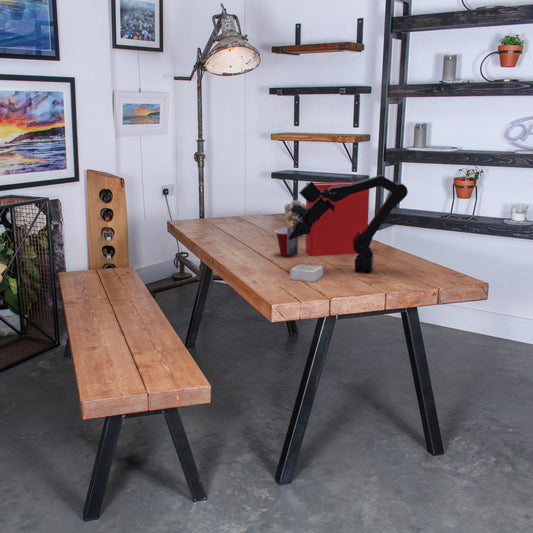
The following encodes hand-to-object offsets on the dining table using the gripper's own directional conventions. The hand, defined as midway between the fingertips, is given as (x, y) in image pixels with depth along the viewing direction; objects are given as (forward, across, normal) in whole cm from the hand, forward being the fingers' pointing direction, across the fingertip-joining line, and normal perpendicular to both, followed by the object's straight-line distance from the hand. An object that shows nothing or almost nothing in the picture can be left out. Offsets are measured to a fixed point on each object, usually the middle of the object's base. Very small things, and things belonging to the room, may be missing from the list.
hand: (289, 237), depth 249 cm
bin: (+4, +12, +15) cm, 19 cm away
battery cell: (+4, 0, +6) cm, 7 cm away
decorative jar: (+9, -76, +10) cm, 77 cm away
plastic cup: (+11, -26, +8) cm, 30 cm away
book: (-5, -33, +24) cm, 41 cm away
